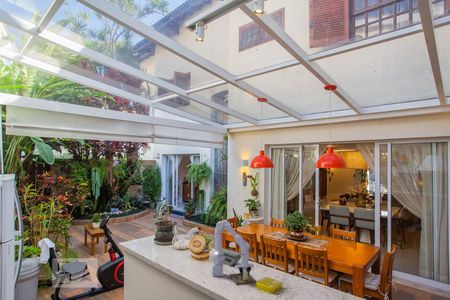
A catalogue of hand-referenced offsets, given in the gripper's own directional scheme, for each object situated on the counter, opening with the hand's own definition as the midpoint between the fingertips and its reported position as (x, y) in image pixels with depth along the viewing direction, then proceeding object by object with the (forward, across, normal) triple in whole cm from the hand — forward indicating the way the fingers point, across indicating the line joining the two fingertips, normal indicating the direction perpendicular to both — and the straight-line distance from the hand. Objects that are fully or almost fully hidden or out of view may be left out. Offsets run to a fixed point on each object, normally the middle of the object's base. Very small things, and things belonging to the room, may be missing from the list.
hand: (244, 277), depth 208 cm
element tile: (+4, +14, -14) cm, 20 cm away
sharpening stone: (+4, -1, +41) cm, 41 cm away
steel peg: (+2, 0, 0) cm, 3 cm away
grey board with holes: (+3, 0, +4) cm, 6 cm away
